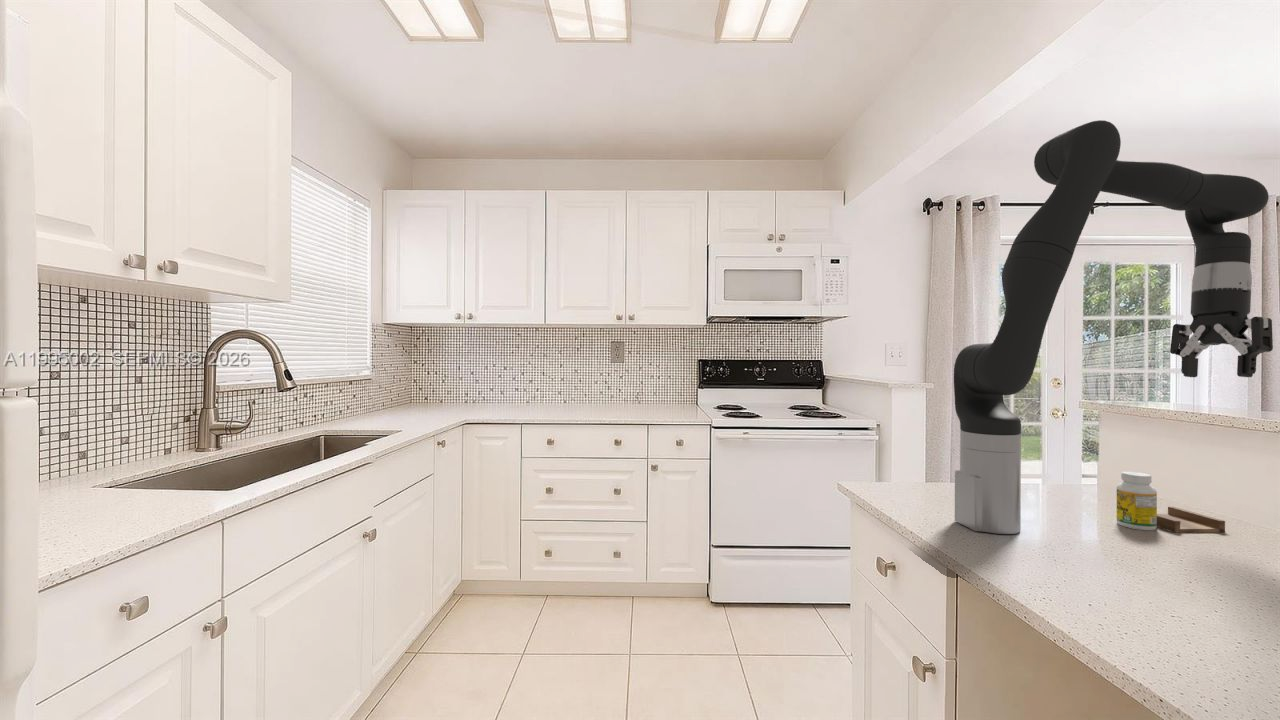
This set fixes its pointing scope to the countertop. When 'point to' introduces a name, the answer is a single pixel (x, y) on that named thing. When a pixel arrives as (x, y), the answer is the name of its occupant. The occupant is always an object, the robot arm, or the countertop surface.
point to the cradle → (1188, 521)
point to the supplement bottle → (1136, 502)
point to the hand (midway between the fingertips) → (1216, 376)
